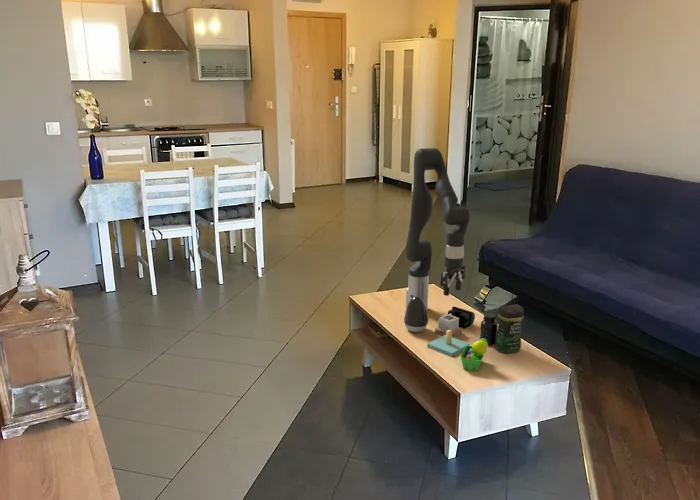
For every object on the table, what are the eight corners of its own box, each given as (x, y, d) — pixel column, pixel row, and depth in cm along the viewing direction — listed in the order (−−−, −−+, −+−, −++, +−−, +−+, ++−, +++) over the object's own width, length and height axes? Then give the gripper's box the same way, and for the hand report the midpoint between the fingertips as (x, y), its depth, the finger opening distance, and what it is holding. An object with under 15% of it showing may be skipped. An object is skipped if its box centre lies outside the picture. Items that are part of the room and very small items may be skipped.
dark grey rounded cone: (420, 323, 255) (421, 291, 251) (431, 332, 246) (433, 299, 242) (399, 326, 252) (400, 294, 248) (410, 336, 243) (411, 302, 238)
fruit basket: (465, 356, 225) (467, 330, 221) (488, 361, 221) (490, 333, 218) (459, 369, 214) (460, 342, 211) (483, 374, 211) (485, 346, 208)
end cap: (474, 324, 254) (475, 310, 252) (465, 329, 249) (466, 315, 248) (455, 318, 261) (456, 304, 259) (446, 323, 256) (447, 308, 254)
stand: (434, 333, 246) (435, 317, 244) (445, 327, 251) (446, 312, 249) (450, 338, 240) (451, 323, 238) (461, 333, 246) (462, 317, 244)
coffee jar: (503, 355, 226) (506, 311, 221) (491, 347, 233) (495, 303, 228) (524, 351, 229) (528, 307, 224) (512, 343, 236) (516, 300, 231)
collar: (438, 328, 245) (438, 317, 244) (446, 324, 249) (447, 313, 248) (450, 333, 241) (450, 321, 240) (458, 328, 245) (459, 317, 244)
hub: (427, 347, 233) (427, 331, 231) (445, 338, 241) (445, 322, 239) (452, 356, 225) (453, 340, 223) (469, 347, 233) (470, 331, 231)
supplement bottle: (485, 337, 242) (487, 310, 238) (500, 342, 237) (502, 315, 234) (476, 342, 237) (478, 315, 234) (490, 347, 232) (492, 320, 229)
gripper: (456, 249, 244) (454, 286, 248) (436, 257, 234) (434, 294, 238) (471, 253, 239) (469, 290, 243) (452, 261, 229) (449, 299, 233)
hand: (452, 292), depth 241 cm, fingers open, 8 cm apart
